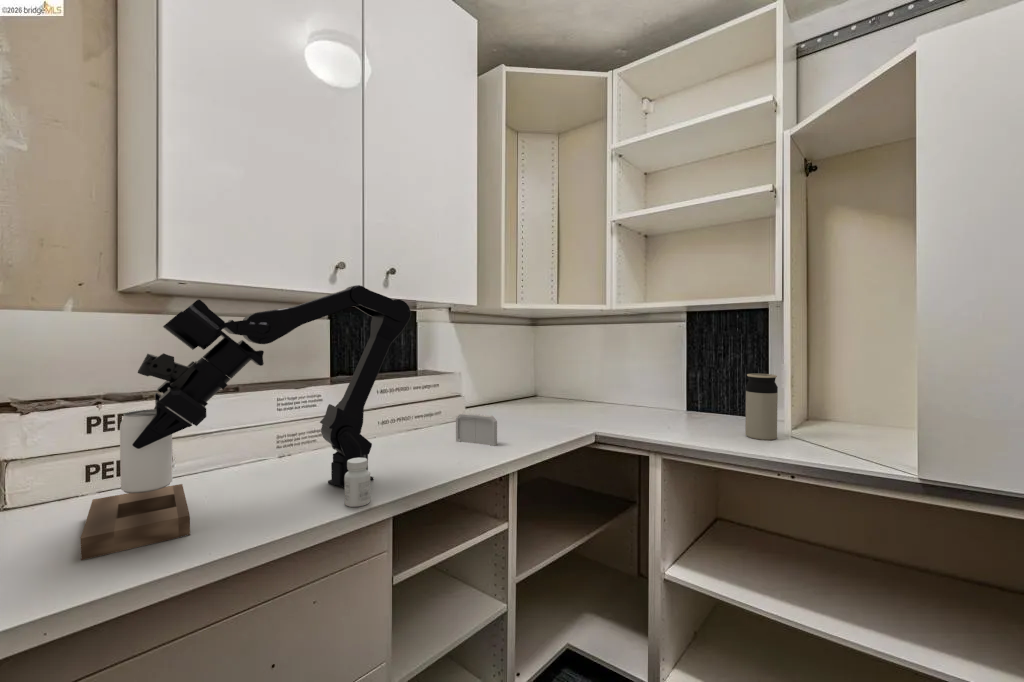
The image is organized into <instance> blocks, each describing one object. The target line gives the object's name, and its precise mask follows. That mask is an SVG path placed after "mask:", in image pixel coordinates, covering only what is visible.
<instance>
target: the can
mask: <svg viewBox="0 0 1024 682" xmlns="http://www.w3.org/2000/svg"><path fill="white" fill-rule="evenodd" d="M122 415H123V418H122V419H121V422H120V424H119V459H120V461H119V462H120V463H119V464H120V465H119V467H120V469H119V470H120V489H121V491H122V492H124V493H125V494H127V493H144V492H150V491H155V490H158V489H161V488H164V487H167V486H170V485H171V483H172V482H173V474H174V473H173V470H174V469H173V465H174V464H173V434H171V435H169V436H166V437H164V438H162V439H160V440H158V441H155V442H153V443H151V444H149V445H147V446H144V447H142V448H140V449H137V448H135V447H134V446H133V445H132V444H133V443H134V441H135V440H136V439H137V438H138V436H139V435H140V434H141V432H142V431H143V430H144V429H145V427H146V426H147V425H148V424H149V422H150V421H151V420H152V419H153V417H154V416H155V415H156V409H154V408H152V409H142V410H141V409H139V410H134V411H128V412H124V413H123V414H122Z"/></svg>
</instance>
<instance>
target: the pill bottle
mask: <svg viewBox="0 0 1024 682" xmlns="http://www.w3.org/2000/svg"><path fill="white" fill-rule="evenodd" d="M367 466H368V467H369V460H368V461H367V459H366V458H352V459H349V460H348V461H347V469H348V470H349V471H348V472H347V473H346V474H345V478H344V481H345V488H344V504H345V505H346V506H347V507H350V508H357V507H362V506H363V507H364V506H366V505H368V504H369V503H370V502H371V497H372V496H371V481H370V476H371V471H369V469H368V470H366V468H367Z"/></svg>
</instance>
